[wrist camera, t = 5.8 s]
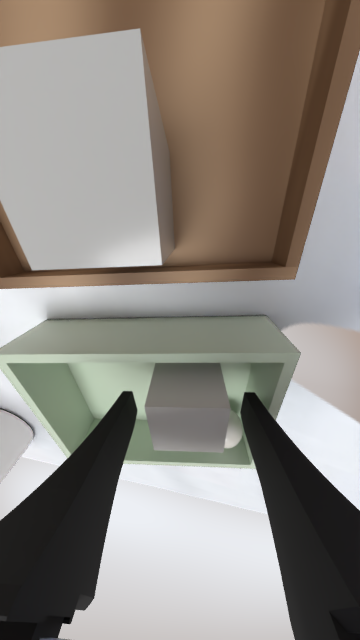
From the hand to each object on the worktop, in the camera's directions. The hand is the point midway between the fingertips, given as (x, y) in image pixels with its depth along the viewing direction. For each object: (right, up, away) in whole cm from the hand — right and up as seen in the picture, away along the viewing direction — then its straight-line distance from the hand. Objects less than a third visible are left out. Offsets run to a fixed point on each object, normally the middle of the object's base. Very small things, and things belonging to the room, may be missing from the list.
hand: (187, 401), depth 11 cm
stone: (-3, +11, -2) cm, 12 cm away
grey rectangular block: (0, +2, +2) cm, 3 cm away
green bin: (-2, 0, +4) cm, 4 cm away
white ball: (+3, -3, +5) cm, 6 cm away
